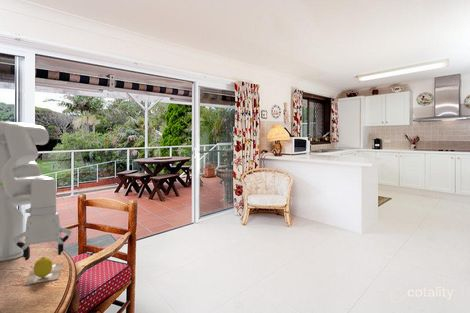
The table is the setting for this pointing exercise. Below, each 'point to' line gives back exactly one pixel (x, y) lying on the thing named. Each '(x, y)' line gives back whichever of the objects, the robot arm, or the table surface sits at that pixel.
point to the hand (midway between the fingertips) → (44, 256)
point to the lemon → (43, 267)
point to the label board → (50, 277)
